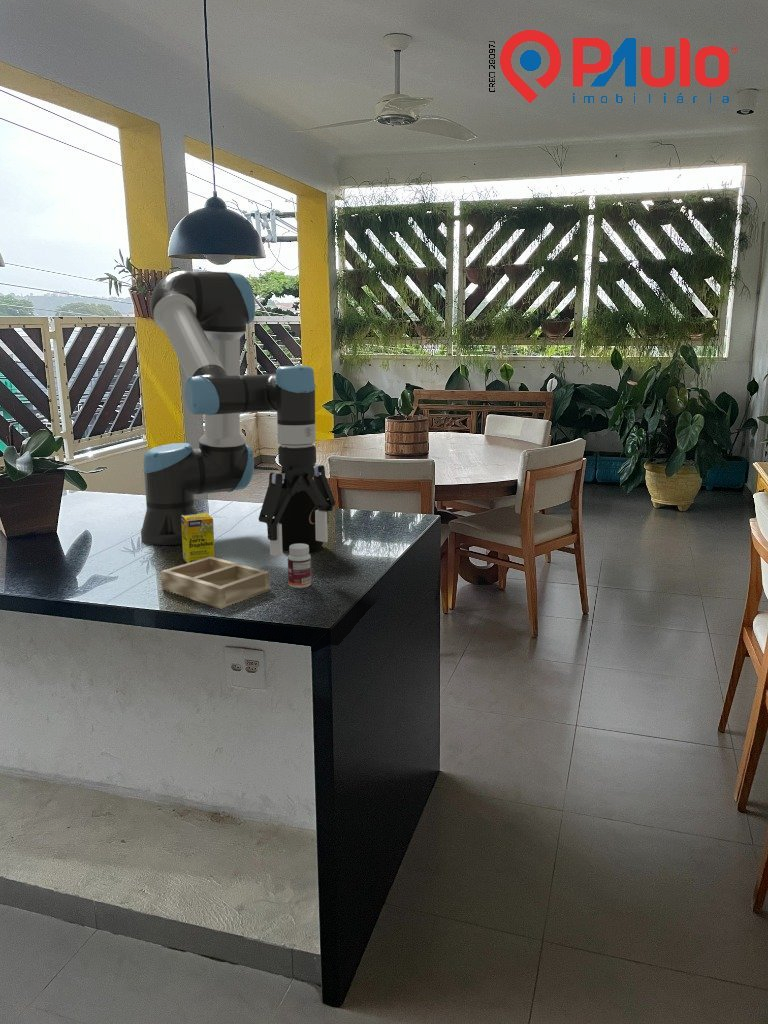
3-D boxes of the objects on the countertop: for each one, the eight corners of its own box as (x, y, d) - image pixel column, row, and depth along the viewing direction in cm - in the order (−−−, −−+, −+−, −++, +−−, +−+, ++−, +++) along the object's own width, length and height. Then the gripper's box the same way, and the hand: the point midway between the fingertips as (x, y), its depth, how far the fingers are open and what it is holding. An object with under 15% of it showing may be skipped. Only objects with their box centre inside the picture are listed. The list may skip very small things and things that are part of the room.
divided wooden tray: (162, 589, 155) (161, 571, 154) (211, 573, 165) (210, 556, 164) (221, 608, 144) (220, 588, 144) (269, 590, 155) (269, 572, 154)
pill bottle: (288, 581, 160) (287, 542, 158) (311, 580, 161) (310, 542, 159) (287, 588, 156) (286, 549, 154) (311, 588, 156) (310, 549, 154)
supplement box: (189, 568, 168) (186, 520, 166) (182, 561, 173) (180, 514, 171) (215, 565, 171) (213, 517, 168) (208, 558, 176) (206, 512, 174)
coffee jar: (316, 555, 178) (315, 480, 174) (272, 552, 180) (270, 478, 176) (328, 543, 188) (327, 472, 184) (287, 541, 191) (285, 470, 186)
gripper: (265, 454, 139) (269, 565, 144) (351, 439, 159) (352, 538, 164) (237, 450, 144) (241, 558, 149) (324, 437, 163) (325, 533, 168)
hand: (299, 548), depth 156 cm, fingers open, 13 cm apart
